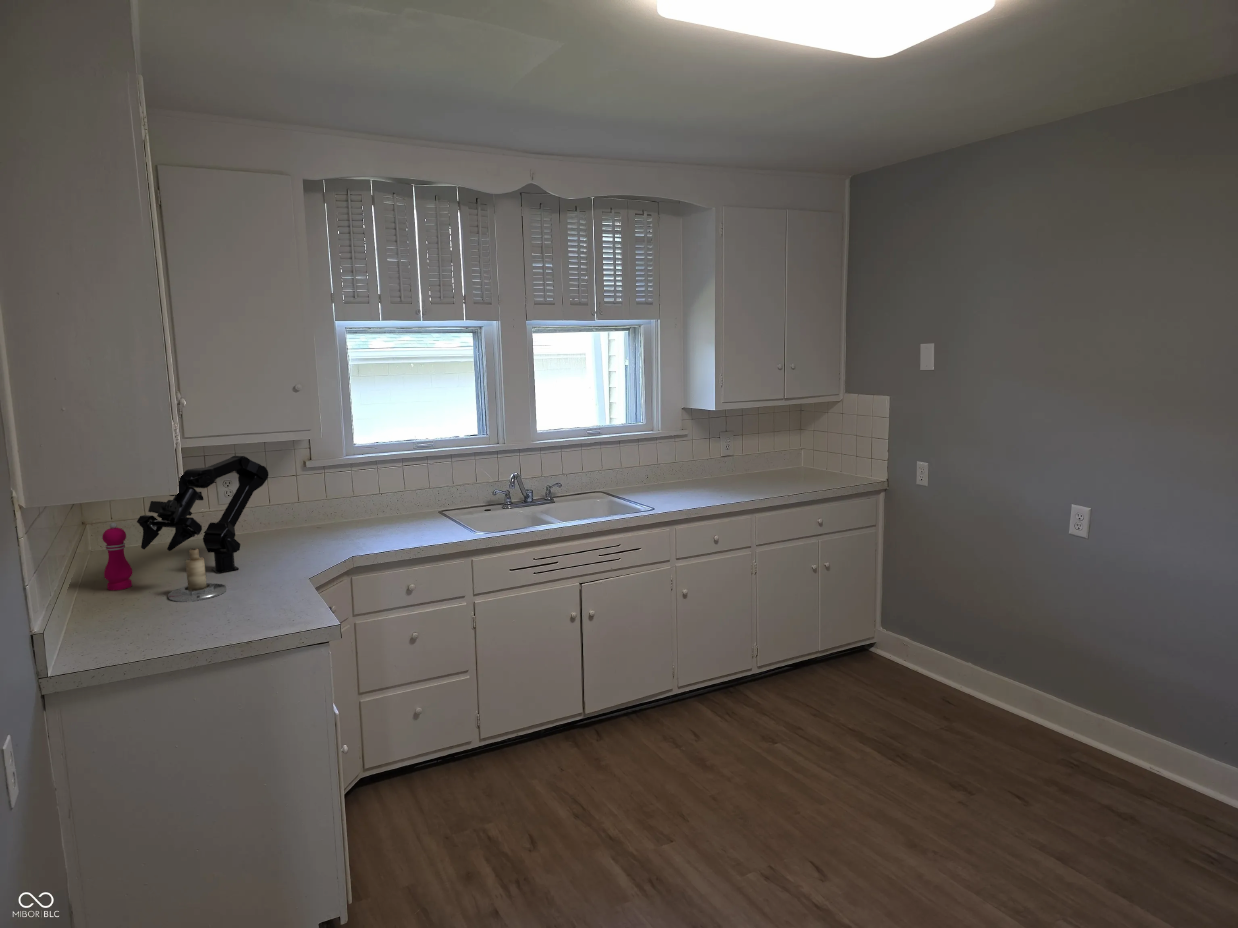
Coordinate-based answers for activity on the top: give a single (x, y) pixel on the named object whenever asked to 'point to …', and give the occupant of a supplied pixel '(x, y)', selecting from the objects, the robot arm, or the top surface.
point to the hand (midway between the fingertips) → (155, 549)
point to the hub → (197, 593)
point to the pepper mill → (116, 559)
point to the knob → (195, 571)
